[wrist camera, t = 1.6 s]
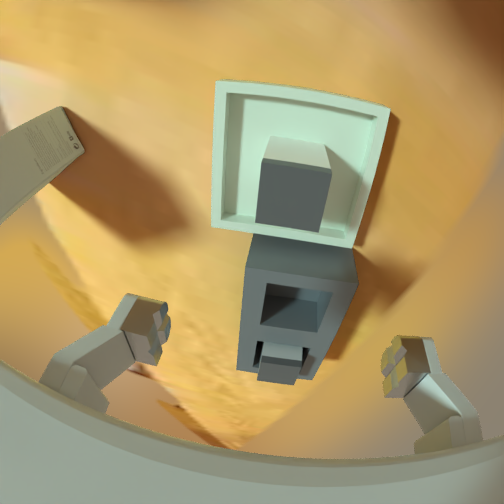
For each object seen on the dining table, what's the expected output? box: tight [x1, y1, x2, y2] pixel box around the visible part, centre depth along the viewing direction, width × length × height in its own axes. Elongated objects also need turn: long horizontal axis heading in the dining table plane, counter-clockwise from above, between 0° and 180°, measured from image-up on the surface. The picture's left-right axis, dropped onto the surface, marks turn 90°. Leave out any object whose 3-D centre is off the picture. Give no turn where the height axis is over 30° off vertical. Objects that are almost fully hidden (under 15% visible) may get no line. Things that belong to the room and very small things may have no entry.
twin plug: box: [257, 342, 303, 385], centre depth 30 cm, size 4×4×6 cm
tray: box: [211, 79, 391, 249], centre depth 21 cm, size 12×12×2 cm
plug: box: [255, 136, 332, 233], centre depth 19 cm, size 4×4×6 cm
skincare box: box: [0, 106, 85, 225], centre depth 18 cm, size 8×6×15 cm
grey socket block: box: [236, 233, 359, 380], centre depth 29 cm, size 16×9×6 cm, turn 175°
